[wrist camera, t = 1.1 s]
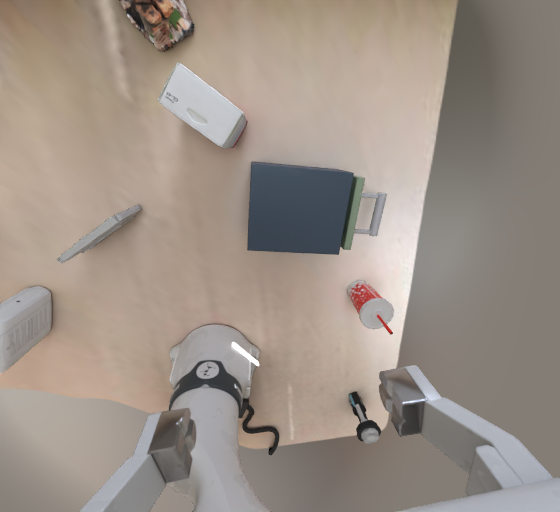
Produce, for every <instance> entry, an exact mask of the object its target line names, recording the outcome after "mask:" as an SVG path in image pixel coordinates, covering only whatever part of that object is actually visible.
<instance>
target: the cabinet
mask: <svg viewBox="0 0 560 512" xmlns="http://www.w3.org/2000/svg"><path fill="white" fill-rule="evenodd" d="M353 175H354V173H351V172H347V171H342V170H338V169H328V168H317V167H306V166H295V165H284V164H273V163H262V162H251V181H250V202H249V224H248V249H247V250H252V251H273V252H294V253H315V254H336V255H339V250H340V245H341V239H342V234H343V229H344V223H345V218H346V212H347V207H348V202H349V196H350V191H351V186H352V180H353Z"/></svg>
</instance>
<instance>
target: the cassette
mask: <svg viewBox="0 0 560 512" xmlns="http://www.w3.org/2000/svg"><path fill="white" fill-rule="evenodd" d="M141 209H142V208H141V207H140V206H139V205H136V206H134V207H132V208H130V209H127V210H126V211H124V212H122V213H118V214H116V215H114V216H112V217H110V218H109V219H107V220H106V221H105V222H104V223H103V224H102V225H100V226H99V227H97V228H96V229H95V230H93V231H92V232H91V233H89V234H88V235H86V236H84V237H83V238H81V239H80V240H79V241H78V242H77V243H76V244H74V246H73V247H72V248H70V249H69V250H67V251H66V252H65V253H63V254H62V255H61V256H60V257H59V258H57V260H58V261H59V262H60V263H63V262H65V261H67V260H69V259H71V258H73V257H74V256H76V255H78V254H79V253H83V252H85V251H87V250H88V249H91V248H92V247H94V246H95V245H97V244H98V243H99V242H101V241H102V240H104V239H105V238H106V237H108V236H109V235H110V234H112V233H113V232H115V231H116V230H117V229H119V228H120V227H122V226H123V225H124V224H126V223H127V222H129V221H130V220H131V219H133V218H134V217H135V214H136V213H137V212H138V211H140V210H141Z"/></svg>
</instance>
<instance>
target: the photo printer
mask: <svg viewBox="0 0 560 512" xmlns="http://www.w3.org/2000/svg"><path fill="white" fill-rule="evenodd" d="M51 323H52V300H51V293H50V291H48V290H47V289H46V288H44V287H40V286H34V287H31V288H26V289H24V290H22V291H21V292H19V293H17V294H16V295H14V296H12V297H11V298H9V299H7V300H5V301H4V302H2V303H0V373H3V372H4V371H6V370H8V369H9V368H10V367H11V366H12V365H14V364H15V363H16V362H17V361H18V360H19V359H20V358H21V357H23V356H24V355H25V354H26V353H27V352H28V351H29V350H30V349H32V348H33V347H34V346H35V345H36V344H37V343H38V342H40V341H41V340H42V339H43V338H44V337H45V336H46V335H47V334H48V333H49V332H50V330H51V325H52V324H51Z"/></svg>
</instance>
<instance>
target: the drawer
mask: <svg viewBox="0 0 560 512" xmlns="http://www.w3.org/2000/svg"><path fill="white" fill-rule="evenodd" d="M364 180H365V178H362V177H358V176H354V175H353V180H352V186H351V191H350V196H349V202H348V207H347V212H346V218H345V223H344V229H343V234H342V239H341V245H340V246H341V247H342V248H343V249H344V250H350V249H351V245H352V240H353V235H354V233H359V234H369V235H371V236H377V234H378V229H379V225H380V221H381V217H382V213H383V208H384V204H385V200H386V196H387V194H385V193H378V194H371V193H362V190H363V185H364ZM361 197H368V198H376V203H375V207H374V212H373V216H372V221H371V225H370V230H362V229H355V225H356V220H357V215H358V210H359V205H360V200H361Z"/></svg>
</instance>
